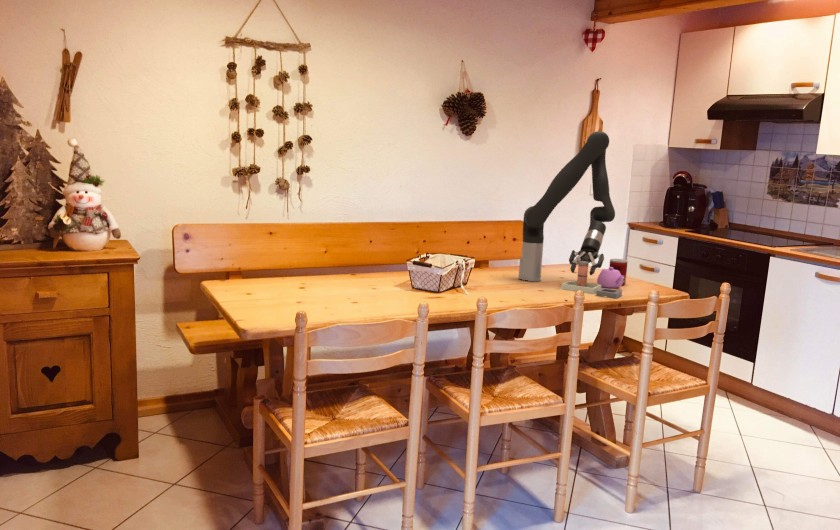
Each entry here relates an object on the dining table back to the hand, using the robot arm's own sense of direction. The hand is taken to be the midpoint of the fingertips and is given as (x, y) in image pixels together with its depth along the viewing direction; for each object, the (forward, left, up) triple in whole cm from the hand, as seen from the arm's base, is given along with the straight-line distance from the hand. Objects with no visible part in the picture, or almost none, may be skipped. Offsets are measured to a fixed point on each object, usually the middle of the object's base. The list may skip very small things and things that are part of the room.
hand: (581, 272), depth 296 cm
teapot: (+8, +17, -9) cm, 21 cm away
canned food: (+7, +30, -8) cm, 32 cm away
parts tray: (0, +1, -8) cm, 8 cm away
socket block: (+13, -3, -8) cm, 16 cm away
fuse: (0, +2, -7) cm, 8 cm away
